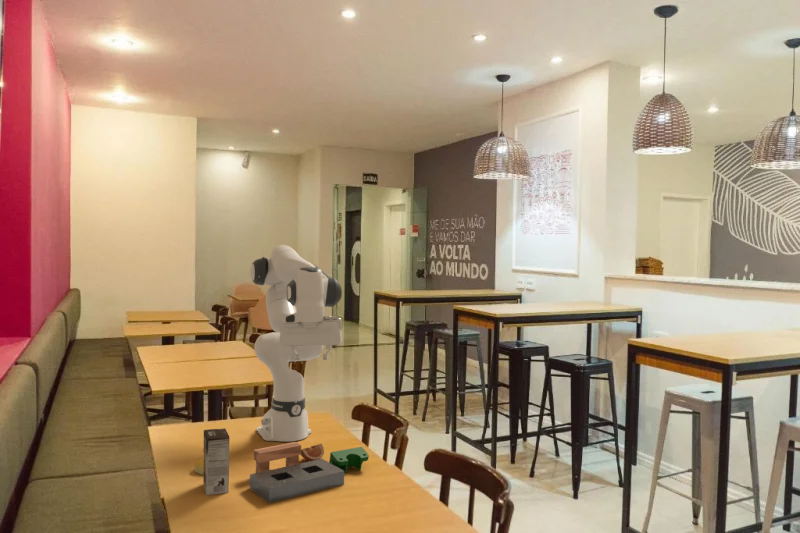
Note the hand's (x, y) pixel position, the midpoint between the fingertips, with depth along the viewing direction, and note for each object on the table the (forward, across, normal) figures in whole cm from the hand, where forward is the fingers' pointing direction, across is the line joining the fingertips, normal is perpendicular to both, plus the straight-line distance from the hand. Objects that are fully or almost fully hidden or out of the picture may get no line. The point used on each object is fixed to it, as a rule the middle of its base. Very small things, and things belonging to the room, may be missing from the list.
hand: (311, 359), depth 195 cm
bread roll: (+34, +31, +8) cm, 46 cm away
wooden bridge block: (+34, +10, +7) cm, 36 cm away
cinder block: (+35, 0, +16) cm, 39 cm away
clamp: (+35, -12, 0) cm, 37 cm away
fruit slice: (+34, +2, -6) cm, 34 cm away
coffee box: (+35, +23, +22) cm, 47 cm away
